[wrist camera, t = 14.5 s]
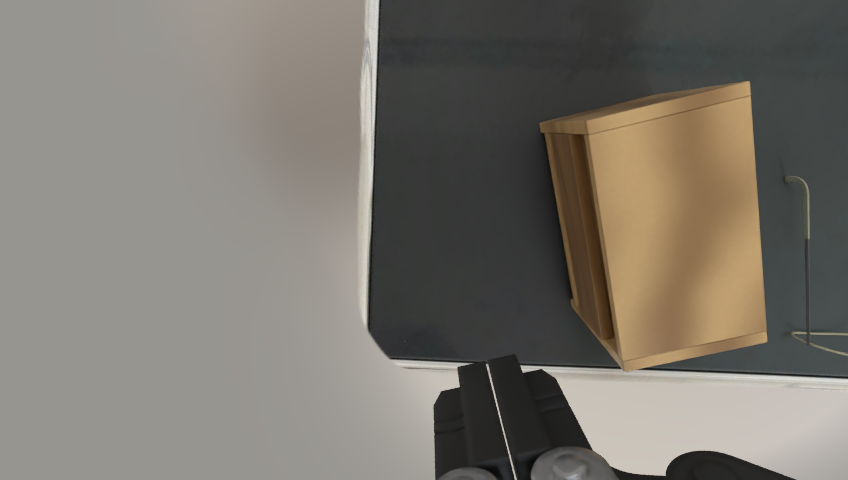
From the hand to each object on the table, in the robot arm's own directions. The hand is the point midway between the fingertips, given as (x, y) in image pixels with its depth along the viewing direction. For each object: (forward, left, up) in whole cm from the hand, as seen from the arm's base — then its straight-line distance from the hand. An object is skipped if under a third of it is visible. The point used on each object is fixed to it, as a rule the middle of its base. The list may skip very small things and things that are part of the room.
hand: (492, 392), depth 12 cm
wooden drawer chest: (+13, -1, -27) cm, 30 cm away
